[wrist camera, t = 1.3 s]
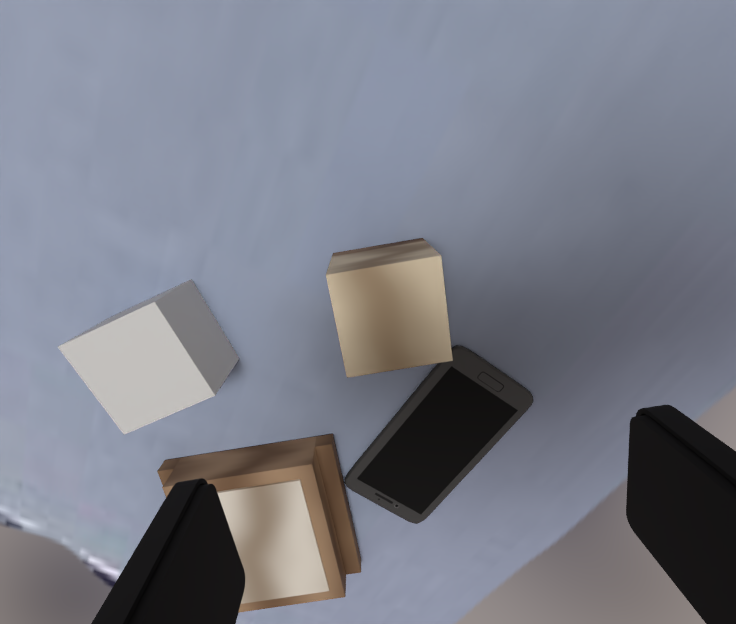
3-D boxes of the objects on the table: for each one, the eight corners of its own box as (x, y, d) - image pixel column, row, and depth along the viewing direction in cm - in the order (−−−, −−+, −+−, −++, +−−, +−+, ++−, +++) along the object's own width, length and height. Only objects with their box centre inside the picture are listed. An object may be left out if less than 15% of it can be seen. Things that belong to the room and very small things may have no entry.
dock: (332, 433, 29) (329, 462, 26) (360, 558, 33) (361, 596, 30) (165, 460, 30) (143, 491, 27) (211, 580, 33) (197, 620, 30)
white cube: (192, 278, 26) (154, 301, 21) (239, 357, 27) (215, 395, 23) (111, 316, 26) (57, 346, 22) (163, 391, 28) (124, 434, 23)
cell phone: (534, 393, 29) (539, 398, 28) (416, 520, 33) (417, 528, 32) (455, 338, 28) (457, 343, 27) (340, 478, 31) (339, 485, 30)
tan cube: (422, 237, 25) (441, 255, 20) (432, 321, 27) (452, 360, 21) (333, 252, 25) (325, 275, 20) (349, 335, 27) (347, 377, 21)
